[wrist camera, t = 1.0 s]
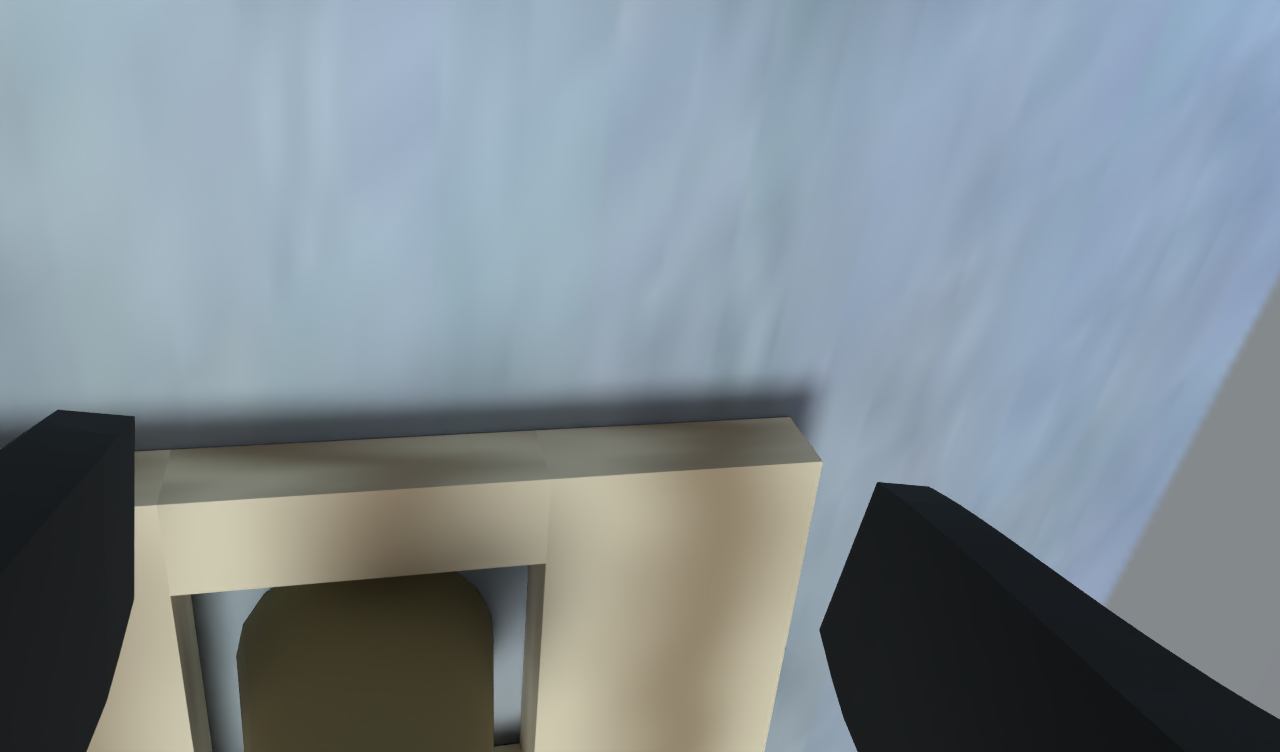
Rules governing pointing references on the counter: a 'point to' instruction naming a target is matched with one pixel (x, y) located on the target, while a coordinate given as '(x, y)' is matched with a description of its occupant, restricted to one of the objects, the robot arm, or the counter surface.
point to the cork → (368, 667)
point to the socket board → (500, 537)
